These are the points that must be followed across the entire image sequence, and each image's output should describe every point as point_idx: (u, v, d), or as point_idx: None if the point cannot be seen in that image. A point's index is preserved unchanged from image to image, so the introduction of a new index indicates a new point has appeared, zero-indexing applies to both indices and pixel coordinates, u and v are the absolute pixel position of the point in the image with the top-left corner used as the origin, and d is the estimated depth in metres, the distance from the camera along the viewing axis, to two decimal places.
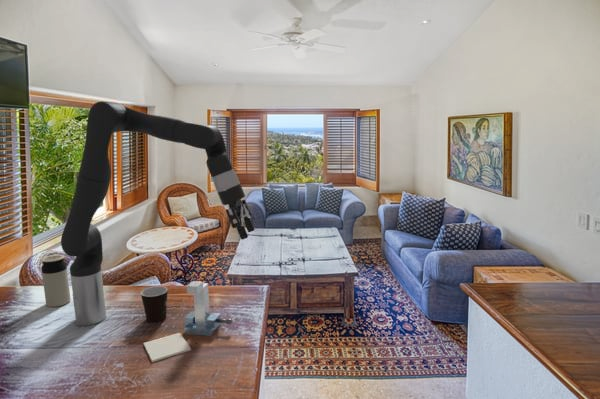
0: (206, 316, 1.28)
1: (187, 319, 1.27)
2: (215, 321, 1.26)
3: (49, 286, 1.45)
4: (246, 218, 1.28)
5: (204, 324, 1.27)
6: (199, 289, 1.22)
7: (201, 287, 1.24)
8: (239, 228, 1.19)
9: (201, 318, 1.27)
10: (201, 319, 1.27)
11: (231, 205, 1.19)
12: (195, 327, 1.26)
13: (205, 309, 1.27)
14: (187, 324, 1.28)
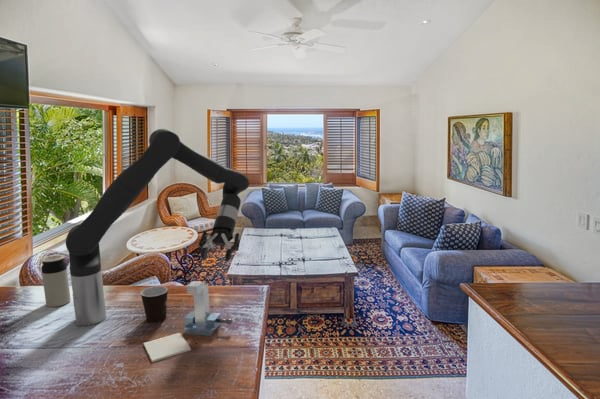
0: (206, 316, 1.28)
1: (187, 319, 1.27)
2: (215, 321, 1.26)
3: (49, 286, 1.45)
4: (207, 247, 1.40)
5: (204, 324, 1.27)
6: (199, 289, 1.22)
7: (201, 287, 1.24)
8: (231, 251, 1.38)
9: (201, 318, 1.27)
10: (201, 319, 1.27)
11: (232, 233, 1.42)
12: (195, 327, 1.26)
13: (205, 309, 1.27)
14: (187, 324, 1.28)
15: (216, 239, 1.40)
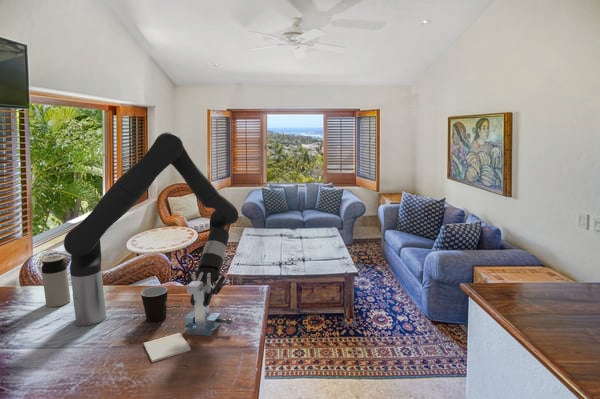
0: (206, 316, 1.28)
1: (187, 319, 1.27)
2: (215, 321, 1.26)
3: (49, 286, 1.45)
4: None
5: (204, 324, 1.27)
6: (199, 289, 1.22)
7: (201, 287, 1.24)
8: (210, 295, 1.27)
9: (201, 318, 1.27)
10: (201, 319, 1.27)
11: (219, 272, 1.32)
12: (195, 327, 1.26)
13: (205, 309, 1.27)
14: (187, 324, 1.28)
15: (204, 278, 1.30)
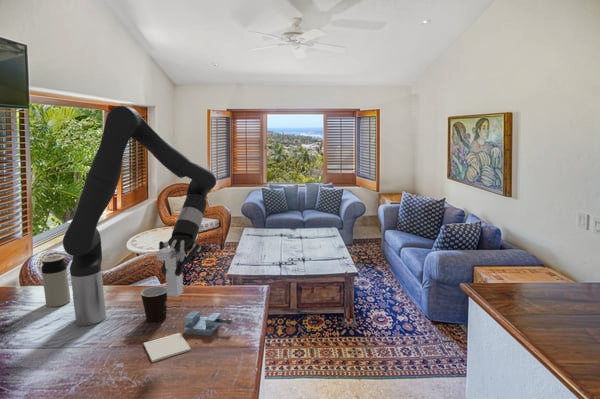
0: (178, 286, 1.18)
1: (187, 319, 1.27)
2: (215, 321, 1.26)
3: (49, 286, 1.45)
4: None
5: (176, 295, 1.18)
6: (171, 255, 1.13)
7: (173, 254, 1.14)
8: (184, 264, 1.18)
9: (173, 289, 1.17)
10: (173, 289, 1.17)
11: (194, 240, 1.22)
12: (195, 327, 1.26)
13: (178, 278, 1.18)
14: (187, 324, 1.28)
15: (177, 246, 1.20)
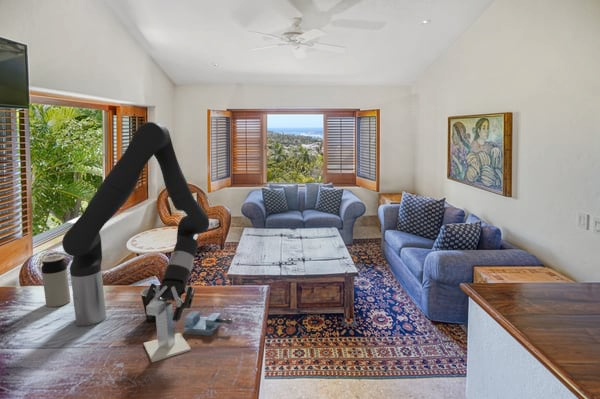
0: (170, 338, 1.17)
1: (187, 319, 1.27)
2: (215, 321, 1.26)
3: (49, 286, 1.45)
4: None
5: (167, 347, 1.16)
6: (160, 309, 1.12)
7: (163, 307, 1.13)
8: (182, 309, 1.16)
9: (164, 341, 1.16)
10: (164, 341, 1.16)
11: (184, 285, 1.21)
12: (195, 327, 1.26)
13: (169, 330, 1.16)
14: (187, 324, 1.28)
15: (165, 293, 1.19)
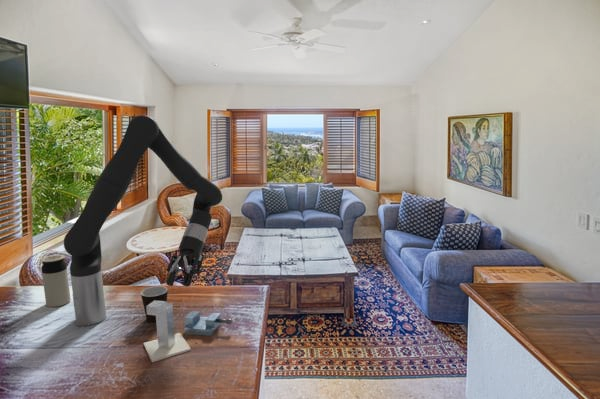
0: (170, 338, 1.17)
1: (187, 319, 1.27)
2: (215, 321, 1.26)
3: (49, 286, 1.45)
4: (174, 272, 1.32)
5: (167, 347, 1.16)
6: (160, 309, 1.12)
7: (163, 307, 1.13)
8: (191, 274, 1.26)
9: (164, 341, 1.16)
10: (164, 341, 1.16)
11: (195, 253, 1.30)
12: (195, 327, 1.26)
13: (169, 330, 1.16)
14: (187, 324, 1.28)
15: (180, 262, 1.30)
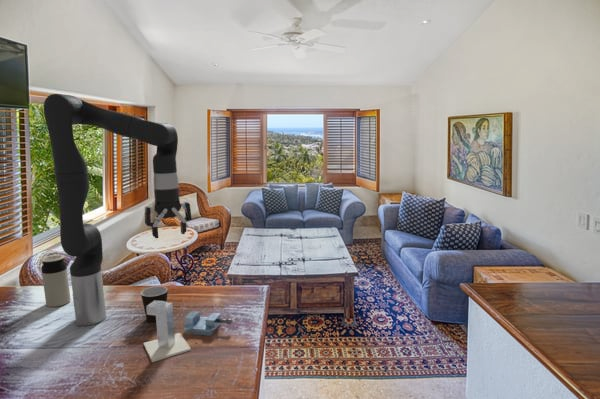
0: (170, 338, 1.17)
1: (187, 319, 1.27)
2: (215, 321, 1.26)
3: (49, 286, 1.45)
4: None
5: (167, 347, 1.16)
6: (160, 309, 1.12)
7: (163, 307, 1.13)
8: (152, 227, 1.26)
9: (164, 341, 1.16)
10: (164, 341, 1.16)
11: (155, 204, 1.25)
12: (195, 327, 1.26)
13: (169, 330, 1.16)
14: (187, 324, 1.28)
15: None
